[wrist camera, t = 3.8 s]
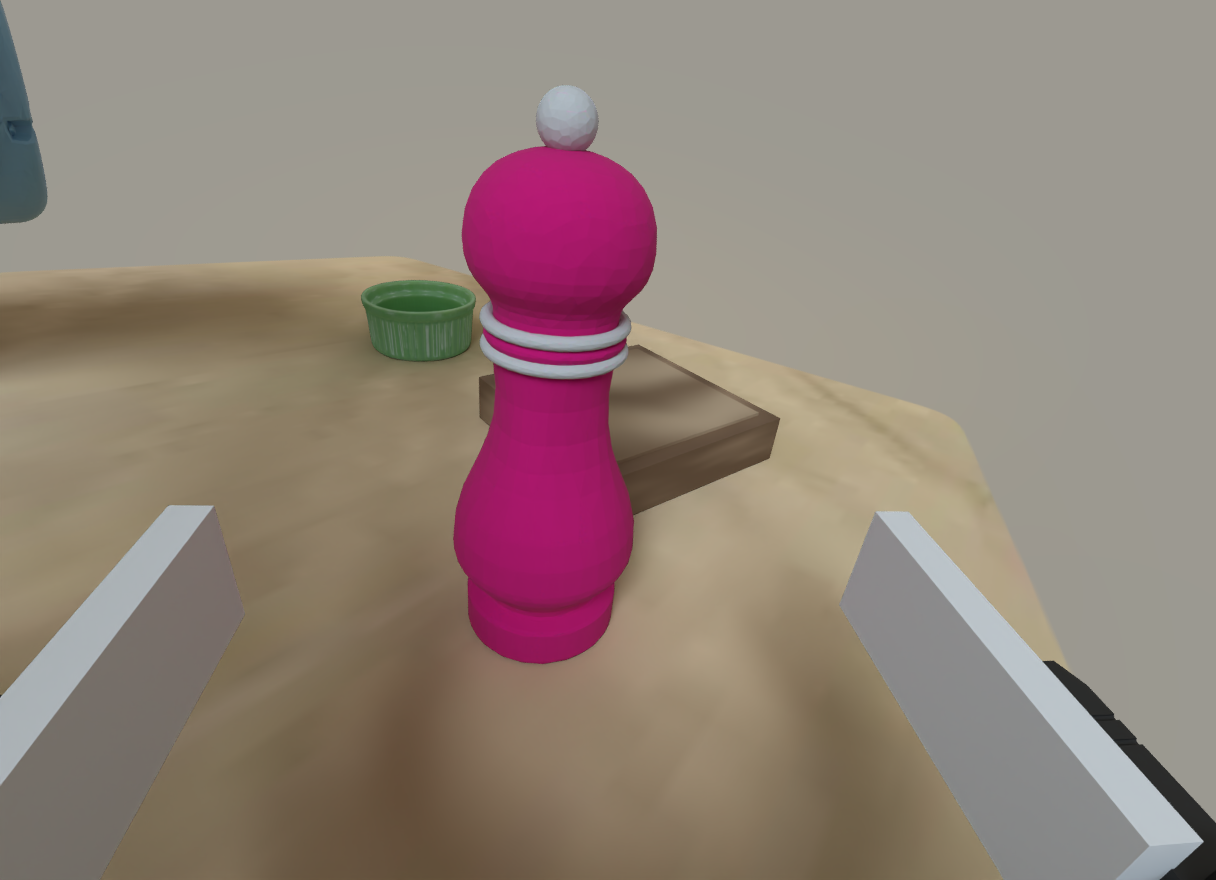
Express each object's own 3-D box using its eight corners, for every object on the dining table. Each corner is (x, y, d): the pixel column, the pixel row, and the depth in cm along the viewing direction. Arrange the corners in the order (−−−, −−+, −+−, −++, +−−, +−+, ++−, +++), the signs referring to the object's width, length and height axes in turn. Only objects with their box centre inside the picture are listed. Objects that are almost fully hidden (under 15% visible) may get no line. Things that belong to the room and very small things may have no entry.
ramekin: (489, 334, 55) (489, 287, 53) (455, 372, 47) (454, 318, 45) (394, 321, 55) (390, 274, 53) (346, 357, 48) (339, 303, 46)
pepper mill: (580, 539, 31) (621, 92, 21) (651, 642, 25) (753, 105, 15) (438, 575, 28) (407, 67, 18) (485, 702, 22) (480, 73, 12)
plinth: (479, 417, 41) (479, 374, 39) (634, 379, 49) (638, 342, 47) (605, 526, 32) (611, 476, 30) (769, 458, 40) (780, 415, 38)
